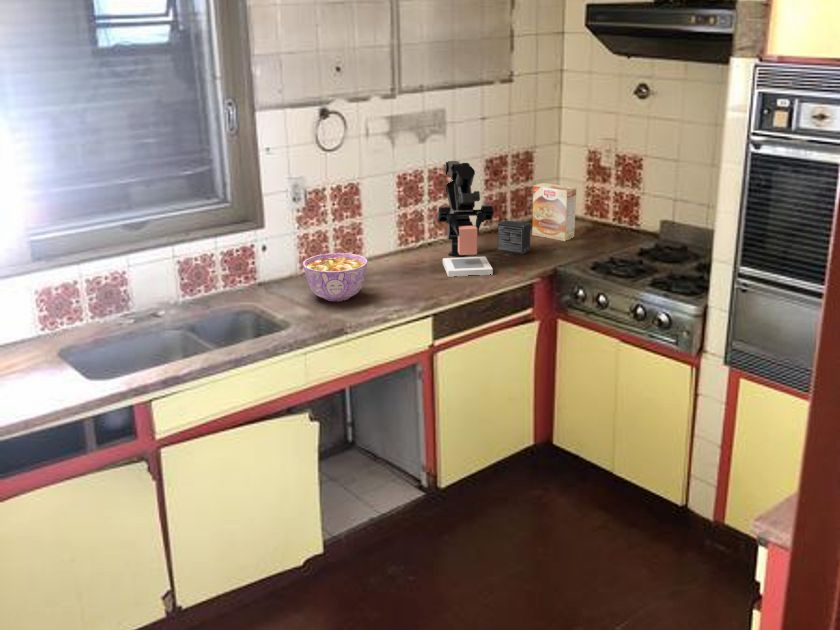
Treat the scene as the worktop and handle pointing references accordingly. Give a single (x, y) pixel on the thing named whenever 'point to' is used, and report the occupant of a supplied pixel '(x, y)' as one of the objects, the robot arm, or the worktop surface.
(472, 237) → the slim brick
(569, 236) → the coffeecake box
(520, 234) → the small box
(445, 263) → the base plate
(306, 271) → the bowl of food
